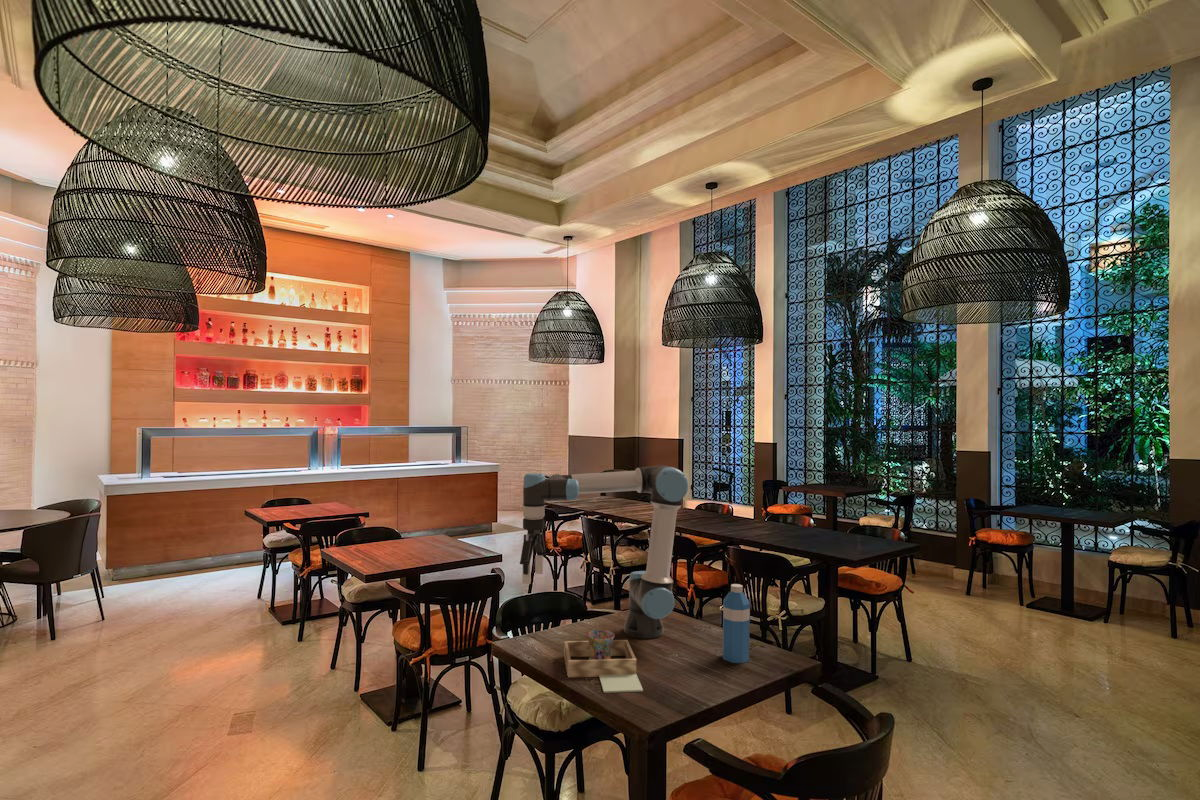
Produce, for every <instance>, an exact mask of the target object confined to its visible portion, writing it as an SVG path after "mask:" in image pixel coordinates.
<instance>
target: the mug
mask: <svg viewBox="0 0 1200 800" xmlns="http://www.w3.org/2000/svg"><path fill="white" fill-rule="evenodd" d="M615 636H616V635H615V633H614V632H613V631H610V630H605V629H595V630H591V631H589V632H587V633H586V638H587V641H589V645H590V656H589V657H588V658H589V659H588V660H598V659H612V656H611V655H610V651H611V645H612V641H613V640H615V639H614V638H615Z"/></svg>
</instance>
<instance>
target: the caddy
mask: <svg viewBox="0 0 1200 800" xmlns="http://www.w3.org/2000/svg"><path fill="white" fill-rule="evenodd" d="M563 644H564V645H563V658H564V659H563V660H564V664H565V669H566V675H567V676H568V677H567V678H591V677H592V678H593V677H599V675H613V674H637V657H636V656H635V653H634V651H633V649H632V647H631V645H630V642H629V640H628V639H613V641H612V645H611V651H610V655H611V657H613V656H614V657H617V656H619V657H620V656H624V657H625V658H611V659H598V660H589V659H572V658H574V657H575V658H579V657H580V658H581V657H584V658H585V657H590V645H589V641H588V640H567V641H566V640H564V643H563Z"/></svg>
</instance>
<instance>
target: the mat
mask: <svg viewBox="0 0 1200 800" xmlns="http://www.w3.org/2000/svg"><path fill="white" fill-rule="evenodd" d="M599 681H600V684H601V688H602V692H603V694H610V693H635V692H636V693H639V692H644V689H643V686H642V684H641V681H640V679H639V677H638V675H637V673H636V674H613V675H599Z"/></svg>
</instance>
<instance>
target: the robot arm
mask: <svg viewBox="0 0 1200 800" xmlns="http://www.w3.org/2000/svg"><path fill="white" fill-rule="evenodd" d="M522 490H523V491H522V498H523V499H522V503H523V504H522V508H521V511H522V516H523V519H522V529H523V530H525V531H527V534H525V533H524V534H523V543H522V549H521V554H520V561H519V565H522V579H521V580H522V581H521V582H522V584H523V585H524V584H525V585H531V584H532V583H531V582H532V579H531V578H532V576H531V573H532V564H531V560H532V555H533V552H534V551H535V553H536V555H535V556H534V558H535V559H534V560H535V561H534V562H535V565H534V567H535V568H534V571H535V572H534V573H535V575H537V574H538V575H543V574H544V556H545V555H546V554H547V552H546V546H545V539H544V529H545V518H544V517H545V515H546V513H545V511H546V510H545V509H546V508H545V507H546V505H545V503H546V502H545V501H547V502H548V501H567V502H568V501H575V500H578V498H579V495H582V494H583V495H585V494H587V495H588V494H600V493H614V492H615V493H616V492H632V491H633V492H635V491H636V492H637V493H639V494H643V493H644V494H645V493H646V494H651V495H650V501H649V502H650V503H651V505H652V506H653V512H652V520H651V529H650V537H649V542H648V543H649V544H648V545H649V546H648V551H647V552H648V553H647V561H646V569H645V570H638V571H632V572H630V574H629V579H628V582H629V585H628V586H629V588H628V589H629V590H628V592H629V593H628V595H629V596H628V612H627V616H626V619H625V622H624V626H623V632H624V634H626V636H630V638H631V637H633V638H635V639H645V640H646V639H655V638H659V637H661V636H663V635H664V630H665V629H664V628H665V627H664V625H663V621H662V619H664V618H666V617H668V616H669V615H671V613H672V611H673V610H674V608H675V601H676V600H675V598H674V594H673V585H674V580H673V579H672V577H671V576H670V575H671V574H670V573H671V565H672V558H673V549H674V548H673V547H674V539H675V533H676V532H675V531H676V522H677V516H678V515H677V513H678V510H679V509H680V508H681V507H682V506H683V499H684V497H686V495H687V493H688V491H689V481H688V478H687V475H686V474H685V473H684V472H683V471H681V470H680V469H678V468H676V467H673V466H668V465H665V464H657V465H651V466H645V467H636V468H635V470H625V471H623V470H622V471H606V472H592V473H591V472H590V473H589V472H588V473H575V474H572V473H571V474H558V473H557V474H552V475H550V476H549V477H548V478H546V475H545V474H544V473H543V472H542V473H540V472H539V473H537V472H531V473H530V472H529V473H526V474H525V475H524V476H523V485H522Z"/></svg>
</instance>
